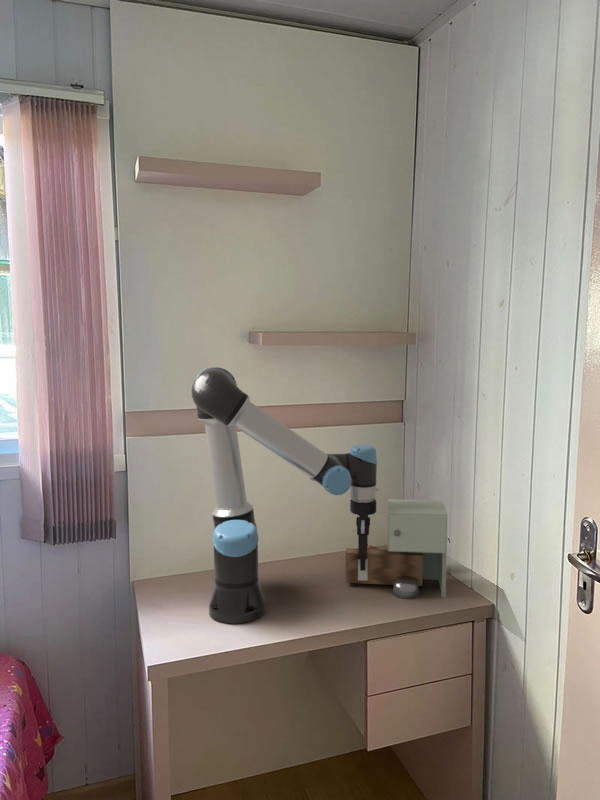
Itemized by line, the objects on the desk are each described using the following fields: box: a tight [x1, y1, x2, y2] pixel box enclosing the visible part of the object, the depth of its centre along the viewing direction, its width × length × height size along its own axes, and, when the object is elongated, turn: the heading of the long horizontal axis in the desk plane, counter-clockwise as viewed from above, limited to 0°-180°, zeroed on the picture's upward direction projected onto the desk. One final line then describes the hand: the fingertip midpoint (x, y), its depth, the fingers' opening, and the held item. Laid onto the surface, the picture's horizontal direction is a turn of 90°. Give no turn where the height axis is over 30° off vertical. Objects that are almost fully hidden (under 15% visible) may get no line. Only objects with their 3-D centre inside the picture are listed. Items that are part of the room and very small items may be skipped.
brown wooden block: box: [345, 547, 423, 587], centre depth 188 cm, size 22×4×9 cm, turn 83°
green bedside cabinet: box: [387, 498, 448, 599], centre depth 186 cm, size 16×16×24 cm
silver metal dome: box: [392, 576, 419, 601], centre depth 183 cm, size 7×7×4 cm
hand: (363, 576), depth 190 cm, fingers closed on brown wooden block, 4 cm apart
